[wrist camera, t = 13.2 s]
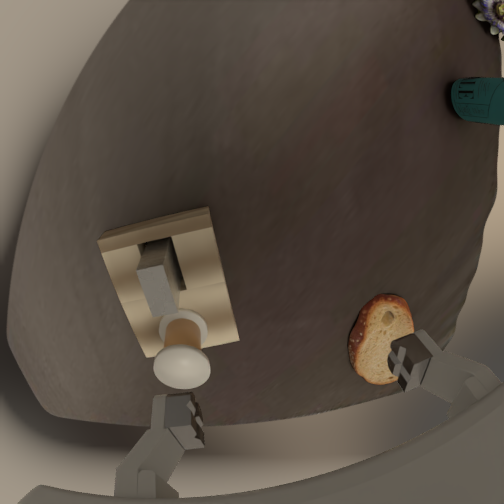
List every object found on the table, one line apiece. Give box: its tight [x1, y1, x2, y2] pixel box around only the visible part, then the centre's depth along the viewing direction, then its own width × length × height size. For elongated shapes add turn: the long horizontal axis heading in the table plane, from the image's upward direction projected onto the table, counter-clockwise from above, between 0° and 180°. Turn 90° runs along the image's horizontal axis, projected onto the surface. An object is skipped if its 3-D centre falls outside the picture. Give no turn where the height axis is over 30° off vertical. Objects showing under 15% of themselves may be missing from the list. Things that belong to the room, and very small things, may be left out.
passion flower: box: [472, 0, 504, 41], centre depth 21 cm, size 11×11×12 cm
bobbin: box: [154, 308, 210, 389], centre depth 30 cm, size 6×6×7 cm
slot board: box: [97, 206, 239, 358], centre depth 33 cm, size 16×12×3 cm
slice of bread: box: [348, 294, 414, 385], centre depth 43 cm, size 18×18×4 cm
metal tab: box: [136, 236, 182, 317], centre depth 29 cm, size 5×2×8 cm, turn 9°
